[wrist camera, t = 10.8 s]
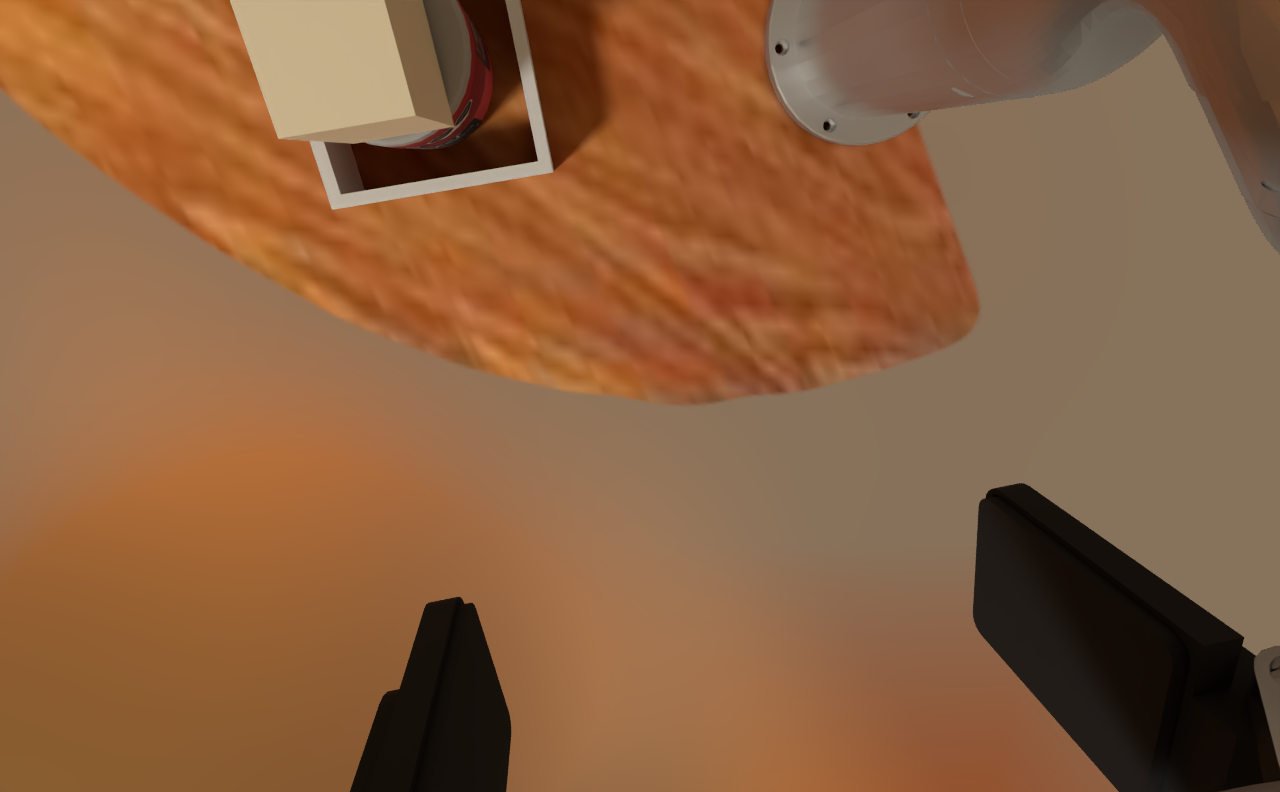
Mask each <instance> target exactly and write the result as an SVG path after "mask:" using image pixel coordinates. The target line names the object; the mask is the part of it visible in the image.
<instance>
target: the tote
mask: <svg viewBox="0 0 1280 792" xmlns="http://www.w3.org/2000/svg"><path fill="white" fill-rule="evenodd" d="M505 1H506V6H507V11H508V16H509V21H510V26H511V30H512V35H513V40H514V45H515V50H516V55H517V60H518V65H519V70H520V75H521V80H522V84H523V89H524V94H525V99H526V104H527V109H528V114H529V119H530V124H531V129H532V134H533V138H534V143H535V148H536V153H537V158H538V161H537V162H531V163H525V164H519V165H513V166H507V167H501V168H495V169H489V170H483V171H477V172H472V173H466V174H460V175H454V176H448V177H442V178H436V179H430V180H424V181H418V182H412V183H406V184H400V185H394V186H389V187H383V188H377V189H371V190H364V186H363V183H362V180H361V176H360V173H359V170H358V167H357V163H356V160H355V157H354V154H353V150H352V147H351V144H350V143H335V142H320V141H310V144H311V147H312V150H313V153H314V156H315V159H316V162H317V165H318V168H319V171H320V174H321V177H322V180H323V183H324V186H325V189H326V192H327V195H328V198H329V201H330V204H331V208H332V210H334V209H340V208H346V207H352V206H357V205H363V204H369V203H375V202H381V201H387V200H393V199H399V198H405V197H410V196H416V195H422V194H428V193H434V192H440V191H446V190H452V189H458V188H463V187H469V186H475V185H481V184H487V183H493V182H499V181H505V180H511V179H516V178H522V177H528V176H534V175H540V174H546V173H552V172H554V168H553V163H552V157H551V152H550V147H549V142H548V137H547V132H546V127H545V122H544V117H543V111H542V106H541V101H540V96H539V91H538V86H537V81H536V76H535V71H534V65H533V60H532V55H531V50H530V45H529V40H528V35H527V30H526V25H525V20H524V14H523V9H522V4H521V0H505Z"/></svg>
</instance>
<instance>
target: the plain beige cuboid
mask: <svg viewBox="0 0 1280 792" xmlns="http://www.w3.org/2000/svg"><path fill="white" fill-rule="evenodd" d="M230 2H231V5H232V8H233V11H234V13H235V16H236V19H237V22H238V25H239V28H240V31H241V33H242V36H243V39H244V42H245V45H246V48H247V51H248V53H249V56H250V59H251V62H252V65H253V68H254V70H255V73H256V76H257V79H258V82H259V85H260V88H261V90H262V93H263V96H264V99H265V102H266V105H267V108H268V110H269V113H270V116H271V119H272V122H273V125H274V128H275V130H276V133H277V136H278V139H289V140H305V141H320V142H335V143H350V144H356V143H361V142H367V141H373V140H379V139H385V138H391V137H397V136H402V135H408V134H414V133H420V132H426V131H432V130H438V129H444V128H449V127H454V123H453V119H452V115H451V111H450V107H449V103H448V99H447V95H446V91H445V87H444V83H443V79H442V75H441V71H440V68H439V64H438V60H437V56H436V52H435V48H434V44H433V40H432V36H431V32H430V28H429V24H428V20H427V16H426V12H425V8H424V4H423V0H230Z"/></svg>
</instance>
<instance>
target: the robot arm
mask: <svg viewBox="0 0 1280 792" xmlns="http://www.w3.org/2000/svg"><path fill="white" fill-rule="evenodd" d="M1162 34H1163V35H1164V36H1165V38H1166V40H1167V42H1168V43H1169V45H1170V47H1171V49H1172V51H1173V53H1174V55H1175V57H1176V59H1177V61H1178V63H1179V65H1180V67H1181V70H1182V72H1183V74H1184V76H1185V79H1186V81H1187V83H1188V85H1189V86H1190V87H1191V89H1193V91H1195V93H1196V95H1197V97H1198V100H1199V102H1200V104H1201V106H1202V108H1203V110H1204V113H1205V115H1206V117H1207V119H1208V122H1209V124H1210V126H1211V128H1212V130H1213V133H1214V135H1215V137H1216V139H1217V142H1218V144H1219V146H1220V148H1221V150H1222V152H1223V155H1224V157H1225V159H1226V161H1227V163H1228V165H1229V168H1230V170H1231V172H1232V175H1233V177H1234V179H1235V181H1236V183H1237V186H1238V188H1239V190H1240V192H1241V194H1242V196H1243V197H1244V199H1245V201H1246V203H1247V206H1248V208H1249V210H1250V212H1251V214H1252V216H1253V218H1254V219H1255V221H1256V223H1257V224H1258V226H1259V228H1260V229H1261V231H1262V233H1263V235H1264V236H1265V237H1266V239H1267V241H1268V242H1269V243H1270V244H1271V246H1272V247H1273V248H1274V249H1275V250H1276V251H1277V252H1278V253H1279V254H1280V0H771V2H770V6H769V9H768V12H767V20H766V27H765V59H766V64H767V69H768V74H769V78H770V81H771V83H772V86H773V89H774V91H775V94H776V96H777V98H778V100H779V101H780V103H781V104H782V106H783V107H784V109H785V111H786V112H787V114H788V115H789V116H790V117H791V118H792V119H793V120H794V121H795V122H796V123H797V124H798V125H799V126H800V127H801V128H803V129H804V130H806V131H807V132H809V133H810V134H812V135H813V136H815V137H817V138H820V139H822V140H825V141H827V142H830V143H834V144H841V145H848V146H851V145H867V144H873V143H879V142H882V141H885V140H888V139H890V138H893V137H895V136H898V135H900V134H901V133H903V132H905V131H906V130H908V129H909V128H911V127H913V126H914V125H916V124H917V123H918V122H919V121H920V120H921V119H922V118H923V117H925V116H926V115H927V114H928V113H929V112H930V111H931V110H937V109H945V108H952V107H961V106H968V105H976V104H984V103H991V102H999V101H1006V100H1015V99H1022V98H1030V97H1035V96H1041V95H1048V94H1054V93H1059V92H1063V91H1067V90H1071V89H1076V88H1078V87H1081V86H1084V85H1087V84H1089V83H1092V82H1094V81H1097V80H1099V79H1101V78H1103V77H1105V76H1106V75H1109V74H1110V73H1112V72H1114V71H1115V70H1117V69H1119V68H1120V67H1122V66H1123V65H1125V64H1126V63H1128V62H1130V61H1131V60H1132V59H1134V58H1135V57H1137V56H1138V55H1139V54H1141V53H1142V52H1143V51H1144V50H1145V49H1147V48H1148V47H1149V46H1150V45H1151V44H1152V43H1154V42H1155V41H1156V40H1157V39H1158V38H1159V37H1160V36H1161V35H1162ZM776 45H779V46H780V47H781V52H780V54H778V53H776V50H775V46H776ZM907 113H909V115H908V114H907ZM824 122H826V123H827V124H828V127H827V129H826V130H824V128H823V124H824ZM978 513H979V514H978V530H977V549H976V567H975V586H974V603H973V618H974V622H975V624H976V627H977V629H978V631H979V632H980V634H981V635H982V636H983V637H984V639H985V640H986V641H987V642H988V643H989V644H990V645H991V646H992V648H993V649H994V650H995V651H996V652H997V653H998V654H999V656H1000V657H1001V658H1002V659H1003V660H1004V661H1005V662H1006V664H1007V665H1008V666H1009V667H1010V668H1011V669H1012V670H1013V672H1014V673H1015V674H1016V675H1017V676H1018V677H1019V678H1020V680H1021V681H1022V682H1023V683H1024V684H1025V685H1026V686H1027V688H1028V689H1029V690H1030V691H1031V692H1032V693H1033V694H1034V695H1035V697H1036V698H1037V699H1038V700H1039V701H1040V702H1041V703H1042V705H1043V706H1044V707H1045V708H1046V709H1047V710H1048V711H1049V712H1050V714H1051V715H1052V716H1053V717H1054V718H1055V719H1056V721H1057V722H1058V723H1059V724H1060V725H1061V726H1062V727H1063V729H1064V730H1065V731H1066V732H1067V733H1068V734H1069V735H1070V736H1071V738H1072V739H1073V740H1074V741H1075V742H1076V743H1077V744H1078V746H1079V747H1080V748H1081V749H1082V750H1083V751H1084V752H1085V754H1086V755H1087V756H1088V757H1089V758H1090V759H1091V760H1092V762H1094V764H1095V765H1096V766H1097V767H1098V768H1099V770H1100V771H1101V772H1102V773H1103V774H1104V775H1105V776H1106V777H1107V778H1108V780H1109V781H1110V782H1111V783H1112V784H1113V785H1114V787H1115V788H1116V789H1117V790H1118V791H1119V792H1280V646H1274V647H1271V648H1268V649H1264V650H1262V651H1261V652H1260V653H1259V654H1258V655H1257V656H1255V655H1254V654H1253V653H1251V652H1250V651H1248V650H1247V649H1246V648H1244V647H1243V646H1242V644H1243V640H1244V637H1243V636H1242V635H1240V634H1239V633H1237V632H1236V631H1234V630H1233V629H1232V628H1230V627H1229V626H1227V625H1226V624H1224V623H1223V622H1222V621H1220V620H1219V619H1217V618H1216V617H1215V616H1213V615H1212V614H1210V613H1209V612H1207V611H1206V610H1205V609H1203V608H1202V607H1200V606H1199V605H1198V604H1196V603H1195V602H1193V601H1192V600H1190V599H1189V598H1188V597H1186V596H1185V595H1183V594H1182V593H1180V592H1179V591H1178V590H1176V589H1175V588H1173V587H1172V586H1171V585H1169V584H1168V583H1166V582H1165V581H1163V580H1162V579H1161V578H1159V577H1158V576H1156V575H1155V574H1153V573H1152V572H1151V571H1149V570H1148V569H1146V568H1145V567H1143V566H1142V565H1141V564H1139V563H1138V562H1136V561H1135V560H1134V559H1132V558H1131V557H1129V556H1128V555H1126V554H1125V553H1123V552H1122V551H1121V550H1119V549H1118V548H1116V547H1115V546H1114V545H1112V544H1111V543H1109V542H1108V541H1107V540H1105V539H1104V538H1102V537H1101V536H1099V535H1098V534H1097V533H1095V532H1094V531H1092V530H1091V529H1089V528H1088V527H1087V526H1085V525H1084V524H1082V523H1081V522H1080V521H1078V520H1077V519H1075V518H1074V517H1072V516H1071V515H1070V514H1068V513H1067V512H1065V511H1064V510H1062V509H1061V508H1060V507H1058V506H1057V505H1055V504H1054V503H1053V502H1051V501H1050V500H1048V499H1047V498H1045V497H1044V496H1042V495H1041V494H1040V493H1038V492H1037V491H1035V490H1034V489H1033V488H1031V487H1030V486H1028V485H1026V484H1022V483H1021V484H1020V483H1019V484H1014V485H1009V486H1004V487H999V488H994V489H991V490H990V491H988V493H987V494H986V498H985V499H982V500H981V501H980V503H979V512H978ZM510 741H511V721H510V715H509V711H508V708H507V705H506V702H505V698H504V695H503V692H502V689H501V686H500V683H499V680H498V677H497V673H496V670H495V667H494V664H493V661H492V658H491V654H490V651H489V648H488V645H487V642H486V639H485V636H484V632H483V629H482V626H481V623H480V620H479V617H478V614H477V611H476V608H475V605H474V604H473V603H468V604H464V602H463V600H462V598H461V597H455V598H450V599H445V600H440V601H435V602H430V603H428V604H426V606H425V608H424V611H423V615H422V618H421V621H420V625H419V628H418V631H417V634H416V638H415V641H414V644H413V647H412V651H411V654H410V657H409V660H408V663H407V667H406V670H405V673H404V676H403V680H402V683H401V686H400V689H398V690H393V691H388V692H387V693H386V694H385V695H384V696H383V697H382V700H381V702H380V704H379V707H378V710H377V713H376V716H375V719H374V722H373V725H372V728H371V730H370V733H369V736H368V739H367V742H366V745H365V749H364V751H363V754H362V757H361V760H360V763H359V766H358V769H357V772H356V775H355V778H354V781H353V784H352V787H351V790H350V792H506V786H507V776H508V765H509V764H508V763H509V753H510Z"/></svg>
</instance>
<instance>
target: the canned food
mask: <svg viewBox="0 0 1280 792" xmlns="http://www.w3.org/2000/svg"><path fill="white" fill-rule="evenodd" d="M423 4H424V8H425V12H426V16H427V20H428V24H429V28H430V32H431V36H432V40H433V44H434V48H435V52H436V56H437V60H438V64H439V68H440V71H441V75H442V79H443V83H444V87H445V91H446V95H447V99H448V103H449V107H450V111H451V115H452V119H453V123H454V127H449V128H444V129H438V130H432V131H426V132H420V133H414V134H408V135H402V136H397V137H391V138H385V139H379V140H373V141H367V142H365V143H368V144H370V145H377V146H384V147H390V148H407V149H442V148H445V147H449V146H452V145H455V144H457V143H459V142H460V141H462V140H464V139H466V138H467V137H468V136H469V135H470V134H471V133H472V132H474V131H475V129H476V128H477V127H478V126H479V124H480V123H481V122H482V120H483V118H484V116H485V114H486V112H487V110H488V108H489V104H490V100H491V97H492V89H493V72H492V64H491V60H490V56H489V53H488V50H487V47H486V45H485V43H484V41H483V39H482V37H481V35H480V34H479V32H478V30H477V29H476V27H475V26H474V24H473V23H472V21H471V19H470V18H469V16H468V15H467V13H466V12H465V10H464V9H463V7H462V5H461V4H460V2H459V1H458V0H423Z"/></svg>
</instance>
